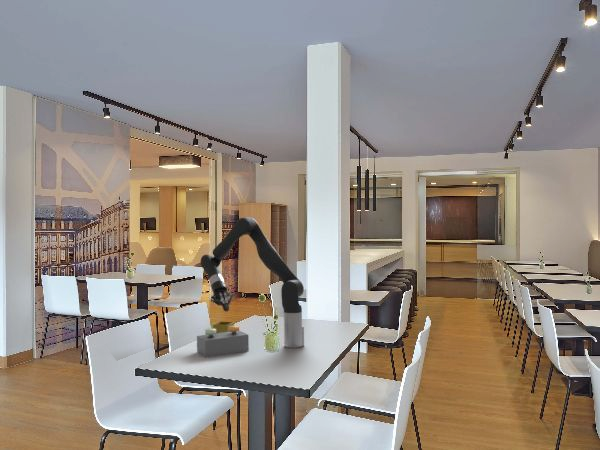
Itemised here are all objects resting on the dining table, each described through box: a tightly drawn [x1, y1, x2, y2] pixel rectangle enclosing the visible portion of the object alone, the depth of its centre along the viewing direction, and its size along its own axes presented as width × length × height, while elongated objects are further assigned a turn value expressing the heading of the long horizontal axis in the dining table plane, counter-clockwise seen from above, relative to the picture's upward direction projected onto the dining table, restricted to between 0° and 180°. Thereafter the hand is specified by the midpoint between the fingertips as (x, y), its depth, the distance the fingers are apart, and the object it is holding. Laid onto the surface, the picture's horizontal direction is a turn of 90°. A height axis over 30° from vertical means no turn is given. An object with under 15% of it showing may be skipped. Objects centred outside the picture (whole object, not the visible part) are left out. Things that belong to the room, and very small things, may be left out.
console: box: [196, 330, 250, 359], centre depth 234 cm, size 22×12×8 cm, turn 121°
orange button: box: [229, 325, 240, 335], centre depth 237 cm, size 5×5×4 cm
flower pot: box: [212, 321, 235, 333], centre depth 260 cm, size 9×9×9 cm
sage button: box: [204, 328, 216, 338], centre depth 231 cm, size 5×5×4 cm
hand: (227, 310), depth 245 cm, fingers closed
